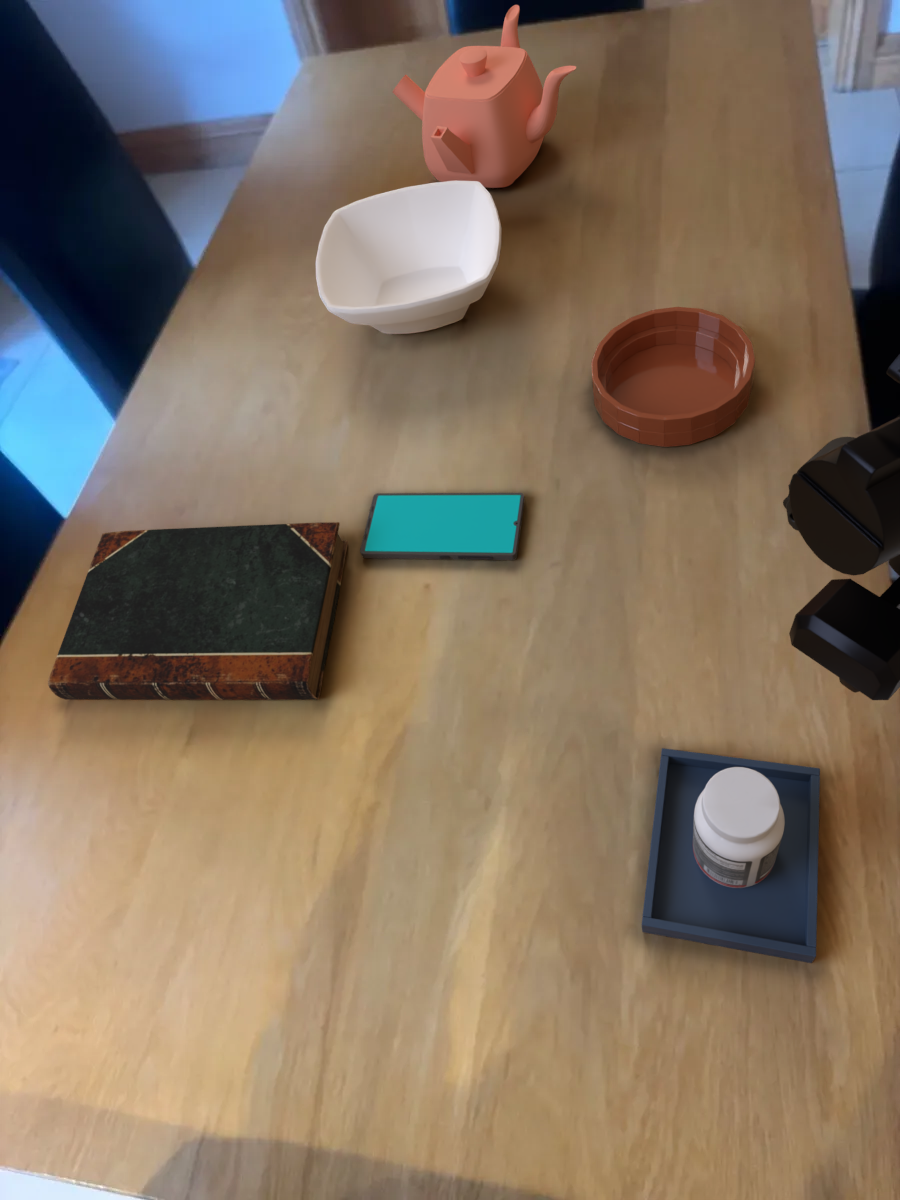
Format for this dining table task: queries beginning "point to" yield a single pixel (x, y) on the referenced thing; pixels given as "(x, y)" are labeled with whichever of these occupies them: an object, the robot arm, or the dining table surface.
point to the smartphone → (444, 526)
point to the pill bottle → (737, 827)
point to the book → (204, 615)
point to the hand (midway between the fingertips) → (890, 641)
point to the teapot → (485, 111)
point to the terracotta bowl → (673, 376)
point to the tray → (723, 914)
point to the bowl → (409, 256)
